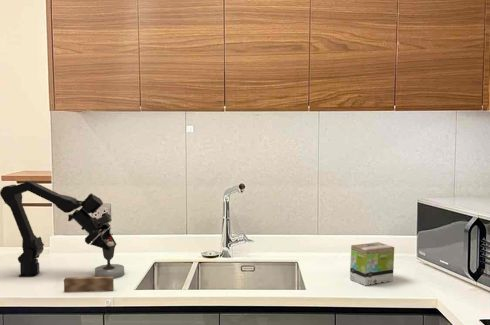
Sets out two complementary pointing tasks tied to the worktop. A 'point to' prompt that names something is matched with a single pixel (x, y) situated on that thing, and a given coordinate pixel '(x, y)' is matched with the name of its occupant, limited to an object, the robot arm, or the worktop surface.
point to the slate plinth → (110, 271)
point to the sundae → (109, 252)
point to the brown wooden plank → (88, 284)
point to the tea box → (371, 263)
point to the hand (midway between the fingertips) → (112, 246)
